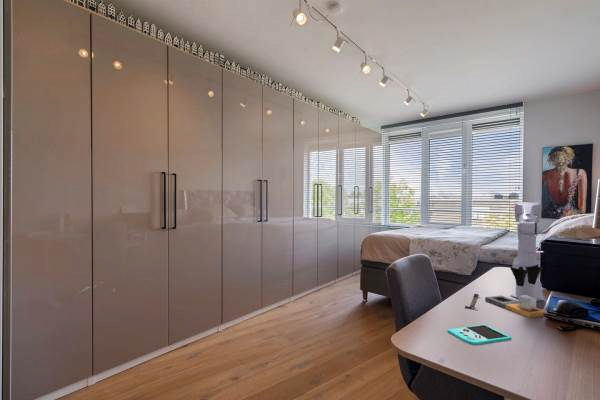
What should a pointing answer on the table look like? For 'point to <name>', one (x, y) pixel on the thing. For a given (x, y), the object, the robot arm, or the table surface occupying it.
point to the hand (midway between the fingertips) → (526, 284)
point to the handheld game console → (479, 334)
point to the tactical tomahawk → (473, 302)
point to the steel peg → (527, 303)
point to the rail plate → (513, 306)
